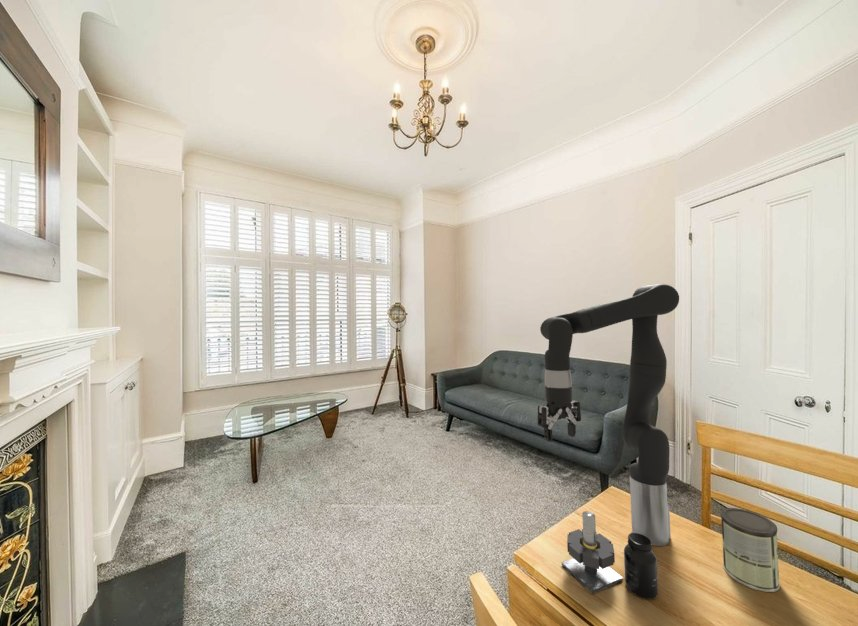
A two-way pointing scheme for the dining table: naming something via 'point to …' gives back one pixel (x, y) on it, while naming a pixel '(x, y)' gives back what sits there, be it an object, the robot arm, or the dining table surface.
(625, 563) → the supplement bottle
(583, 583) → the metal peg stand
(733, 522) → the coffee can
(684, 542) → the dining table surface
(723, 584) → the dining table surface
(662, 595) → the dining table surface
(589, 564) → the ring
